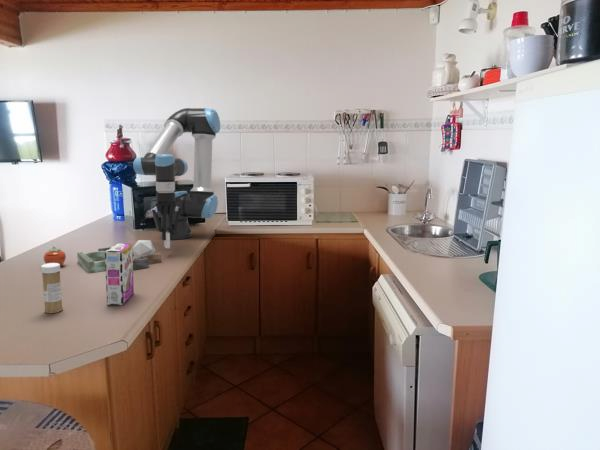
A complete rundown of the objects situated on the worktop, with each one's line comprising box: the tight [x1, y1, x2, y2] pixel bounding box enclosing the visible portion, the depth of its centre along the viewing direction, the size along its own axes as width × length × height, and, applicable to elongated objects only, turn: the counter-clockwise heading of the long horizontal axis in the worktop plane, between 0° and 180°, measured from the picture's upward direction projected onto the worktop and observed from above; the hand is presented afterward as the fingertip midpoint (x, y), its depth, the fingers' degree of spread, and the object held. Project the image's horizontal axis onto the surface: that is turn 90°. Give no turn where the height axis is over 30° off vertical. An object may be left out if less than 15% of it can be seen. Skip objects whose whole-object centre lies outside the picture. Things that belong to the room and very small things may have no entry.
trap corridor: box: [76, 246, 162, 274], centre depth 173 cm, size 27×27×4 cm
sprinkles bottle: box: [40, 263, 64, 314], centre depth 121 cm, size 5×5×14 cm
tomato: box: [43, 245, 67, 268], centre depth 165 cm, size 7×7×8 cm
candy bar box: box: [104, 243, 135, 306], centre depth 132 cm, size 11×5×16 cm, turn 5°
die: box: [132, 239, 156, 260], centre depth 179 cm, size 8×9×10 cm
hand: (167, 247), depth 185 cm, fingers closed
